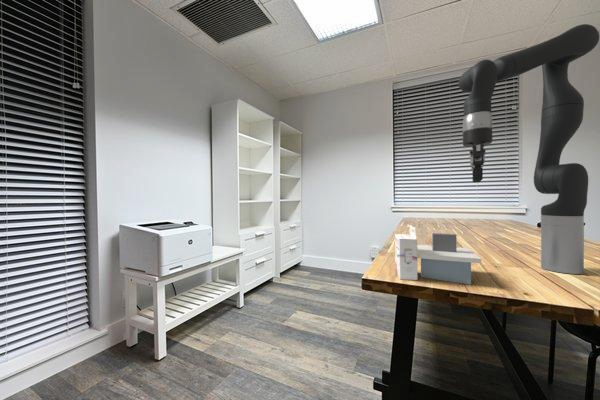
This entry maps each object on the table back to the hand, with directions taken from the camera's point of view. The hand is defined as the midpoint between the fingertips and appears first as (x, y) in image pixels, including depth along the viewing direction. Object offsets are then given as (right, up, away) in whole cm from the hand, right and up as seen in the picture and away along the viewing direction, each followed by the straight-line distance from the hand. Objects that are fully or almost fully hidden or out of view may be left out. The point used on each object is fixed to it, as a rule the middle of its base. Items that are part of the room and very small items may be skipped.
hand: (477, 181), depth 77 cm
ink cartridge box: (-24, -29, -4) cm, 38 cm away
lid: (-13, -22, -4) cm, 26 cm away
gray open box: (-12, -28, -4) cm, 31 cm away
